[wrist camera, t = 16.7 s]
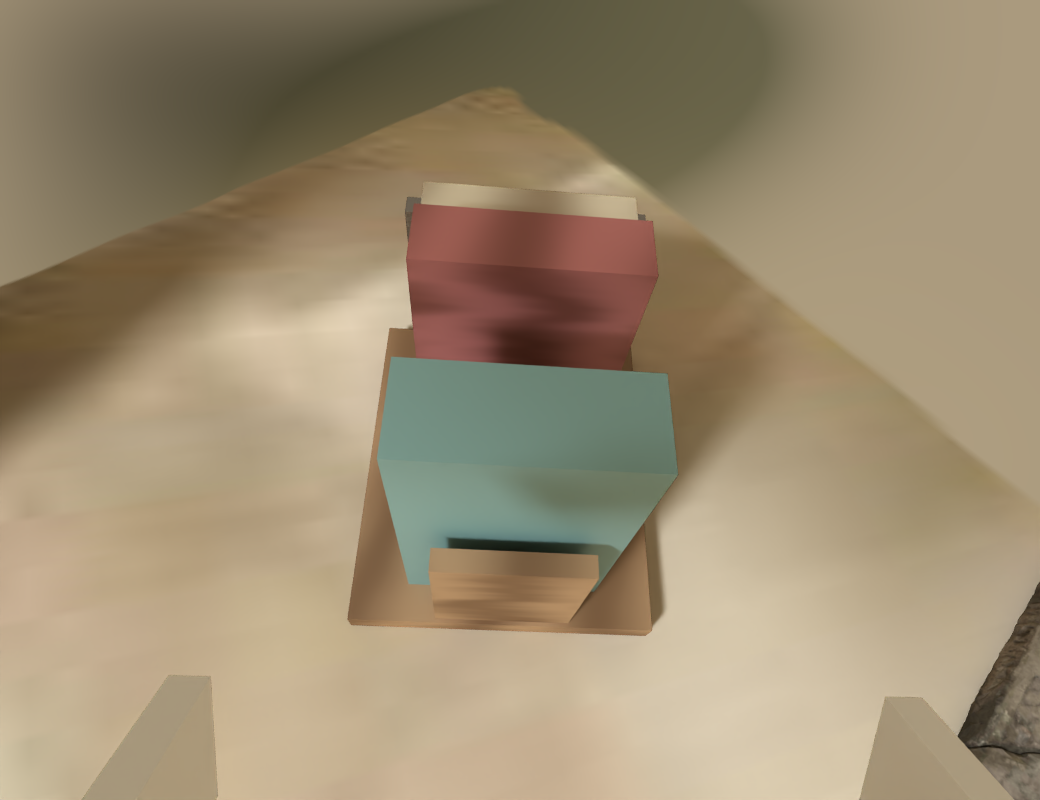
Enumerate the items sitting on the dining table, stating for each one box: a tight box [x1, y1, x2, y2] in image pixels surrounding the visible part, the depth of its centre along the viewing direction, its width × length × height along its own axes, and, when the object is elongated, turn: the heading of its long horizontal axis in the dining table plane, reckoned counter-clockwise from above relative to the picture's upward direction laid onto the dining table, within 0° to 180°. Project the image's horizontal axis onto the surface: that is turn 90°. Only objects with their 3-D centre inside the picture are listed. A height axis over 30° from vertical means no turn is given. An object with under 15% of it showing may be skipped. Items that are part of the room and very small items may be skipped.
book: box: [377, 357, 678, 592], centre depth 30 cm, size 10×4×16 cm, turn 89°
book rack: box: [348, 181, 658, 636], centre depth 33 cm, size 16×18×18 cm
